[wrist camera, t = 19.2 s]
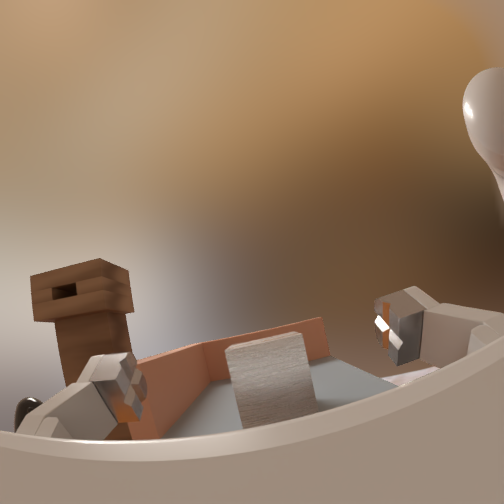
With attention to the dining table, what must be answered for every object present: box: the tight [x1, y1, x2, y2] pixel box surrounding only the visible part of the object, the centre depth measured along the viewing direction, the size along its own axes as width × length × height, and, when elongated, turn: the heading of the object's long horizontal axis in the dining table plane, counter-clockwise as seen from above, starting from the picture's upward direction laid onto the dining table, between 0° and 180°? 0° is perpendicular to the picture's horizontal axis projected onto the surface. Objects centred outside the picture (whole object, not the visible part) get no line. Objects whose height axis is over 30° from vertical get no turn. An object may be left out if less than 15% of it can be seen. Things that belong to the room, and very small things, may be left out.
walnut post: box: [30, 258, 134, 440], centre depth 24 cm, size 8×12×29 cm, turn 89°
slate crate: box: [161, 356, 398, 439], centre depth 20 cm, size 18×14×16 cm
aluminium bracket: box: [225, 331, 319, 429], centre depth 20 cm, size 14×4×4 cm, turn 179°
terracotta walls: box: [127, 317, 330, 440], centre depth 22 cm, size 18×14×4 cm
